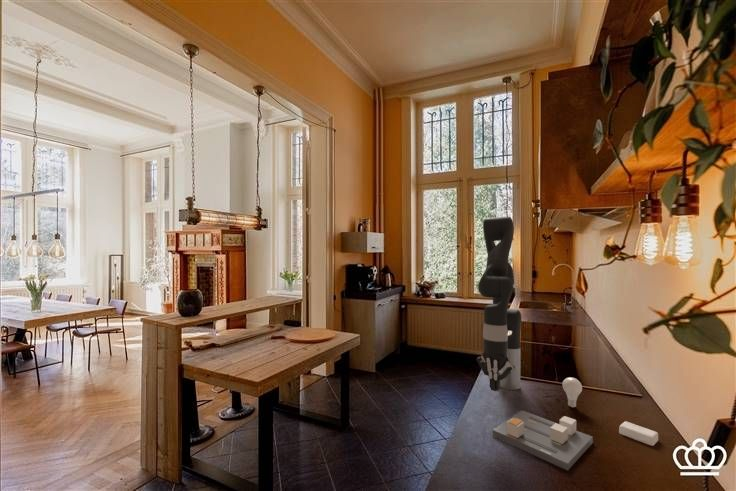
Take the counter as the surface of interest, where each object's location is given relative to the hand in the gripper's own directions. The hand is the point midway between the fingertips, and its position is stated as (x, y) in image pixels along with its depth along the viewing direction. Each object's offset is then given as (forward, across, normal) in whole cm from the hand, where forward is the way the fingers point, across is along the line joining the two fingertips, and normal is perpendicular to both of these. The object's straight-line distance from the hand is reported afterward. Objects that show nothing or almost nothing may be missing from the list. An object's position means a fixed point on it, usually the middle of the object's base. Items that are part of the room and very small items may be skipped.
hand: (494, 390), depth 113 cm
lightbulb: (+14, +10, +38) cm, 42 cm away
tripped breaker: (+11, +7, 0) cm, 13 cm away
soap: (+14, +31, +32) cm, 47 cm away
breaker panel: (+14, +12, +7) cm, 19 cm away
